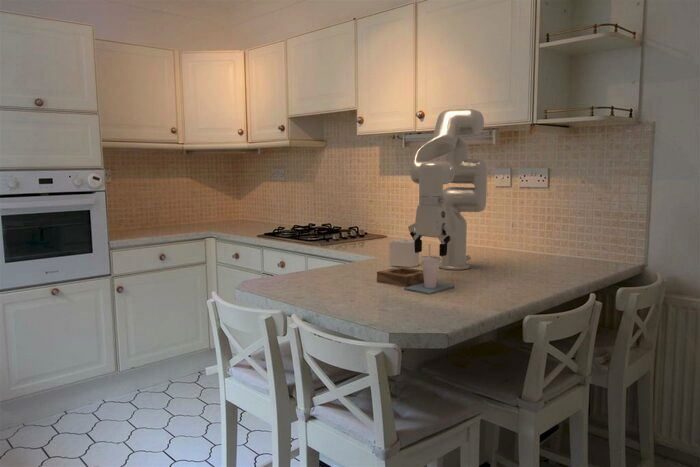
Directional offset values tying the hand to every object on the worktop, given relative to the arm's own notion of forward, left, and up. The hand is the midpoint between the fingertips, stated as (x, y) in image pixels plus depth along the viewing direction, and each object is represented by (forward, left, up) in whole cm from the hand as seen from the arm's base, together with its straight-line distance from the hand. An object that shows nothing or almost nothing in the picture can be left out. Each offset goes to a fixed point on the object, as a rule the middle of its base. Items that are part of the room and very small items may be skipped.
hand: (430, 253), depth 175 cm
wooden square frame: (-2, -13, -11) cm, 17 cm away
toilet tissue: (-28, -32, -12) cm, 44 cm away
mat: (+1, 0, -11) cm, 11 cm away
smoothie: (+1, +1, -11) cm, 11 cm away
